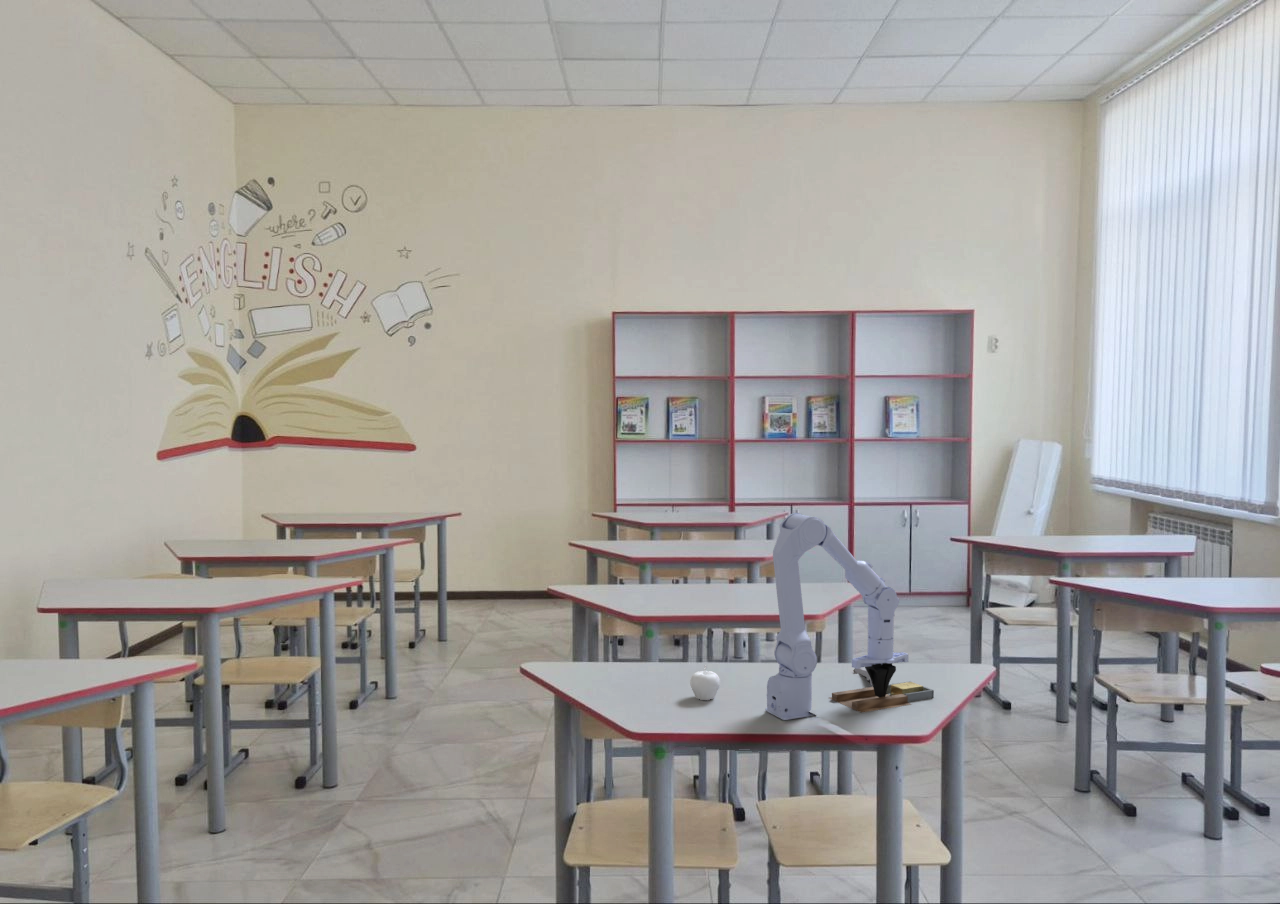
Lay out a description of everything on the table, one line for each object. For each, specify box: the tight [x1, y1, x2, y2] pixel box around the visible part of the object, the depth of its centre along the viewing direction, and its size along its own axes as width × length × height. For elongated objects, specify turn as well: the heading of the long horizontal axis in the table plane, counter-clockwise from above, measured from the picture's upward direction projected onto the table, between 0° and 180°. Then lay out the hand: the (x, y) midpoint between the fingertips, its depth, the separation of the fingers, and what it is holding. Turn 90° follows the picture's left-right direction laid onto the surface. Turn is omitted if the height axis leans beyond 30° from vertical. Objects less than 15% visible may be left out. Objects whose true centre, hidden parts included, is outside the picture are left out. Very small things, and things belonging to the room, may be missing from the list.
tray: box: [886, 681, 935, 703], centre depth 217 cm, size 8×8×3 cm
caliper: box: [853, 667, 873, 687], centre depth 233 cm, size 20×1×6 cm, turn 0°
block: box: [890, 681, 924, 696], centre depth 217 cm, size 6×4×3 cm, turn 114°
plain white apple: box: [689, 664, 721, 701], centre depth 219 cm, size 7×7×8 cm
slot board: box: [829, 686, 913, 713], centre depth 212 cm, size 14×12×3 cm
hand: (880, 696), depth 213 cm, fingers closed
